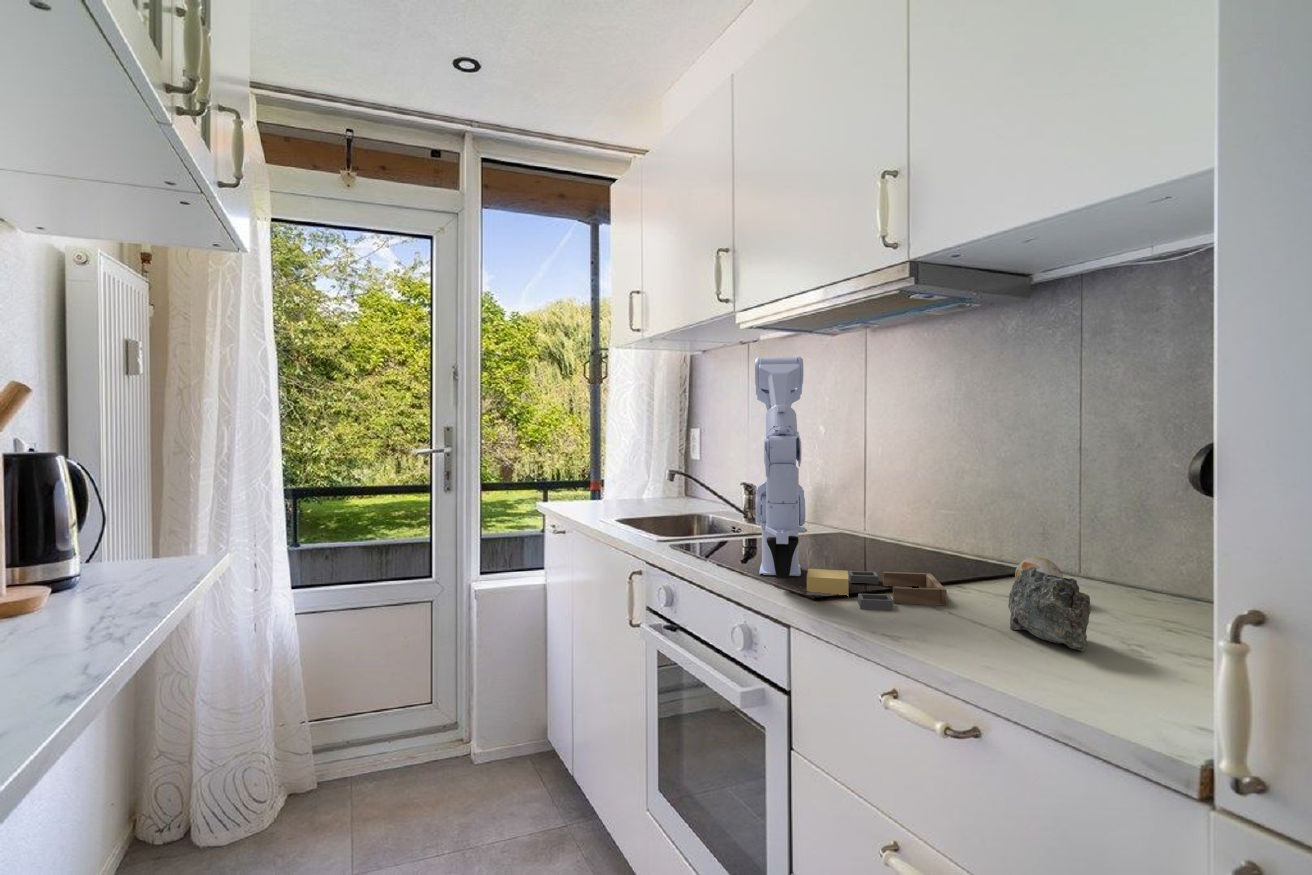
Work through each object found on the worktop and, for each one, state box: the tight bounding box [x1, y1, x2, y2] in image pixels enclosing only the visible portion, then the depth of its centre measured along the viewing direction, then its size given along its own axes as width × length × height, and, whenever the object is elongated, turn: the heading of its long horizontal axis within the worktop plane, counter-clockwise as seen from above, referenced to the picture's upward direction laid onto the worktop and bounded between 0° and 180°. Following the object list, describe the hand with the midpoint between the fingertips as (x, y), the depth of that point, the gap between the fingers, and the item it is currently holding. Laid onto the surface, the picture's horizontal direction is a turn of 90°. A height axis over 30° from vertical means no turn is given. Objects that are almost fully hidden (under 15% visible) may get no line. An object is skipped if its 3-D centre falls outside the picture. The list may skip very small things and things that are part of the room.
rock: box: [1007, 567, 1092, 652], centre depth 95 cm, size 14×10×10 cm
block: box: [806, 568, 849, 597], centre depth 122 cm, size 7×7×4 cm
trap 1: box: [848, 570, 879, 584], centre depth 130 cm, size 4×5×2 cm
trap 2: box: [857, 593, 894, 611], centre depth 112 cm, size 4×5×2 cm
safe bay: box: [882, 571, 948, 606], centre depth 120 cm, size 13×8×2 cm, turn 169°
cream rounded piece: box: [1014, 556, 1064, 581], centre depth 114 cm, size 8×10×10 cm
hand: (782, 577), depth 124 cm, fingers closed
